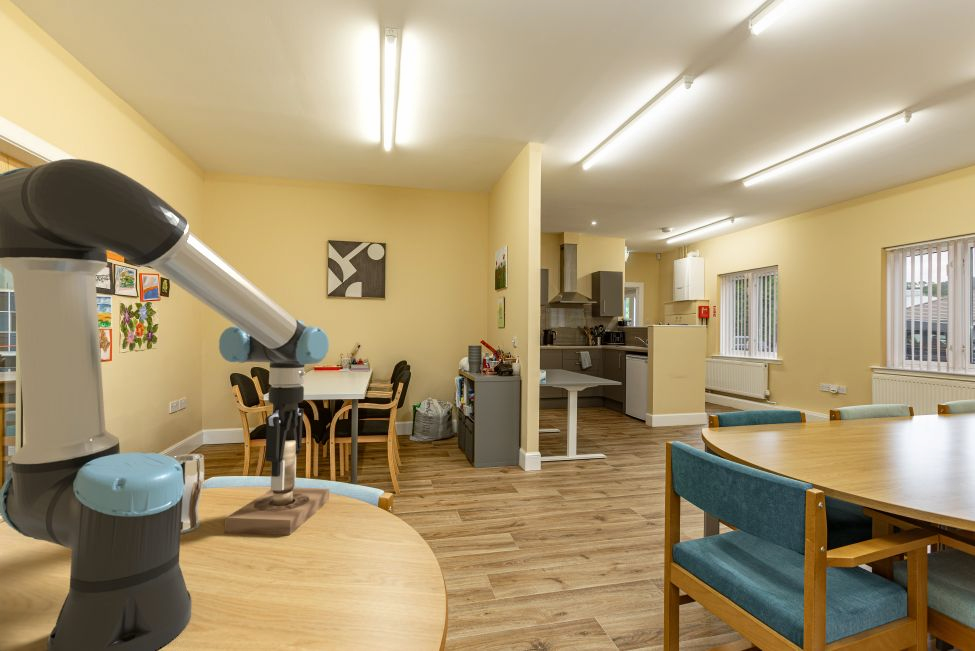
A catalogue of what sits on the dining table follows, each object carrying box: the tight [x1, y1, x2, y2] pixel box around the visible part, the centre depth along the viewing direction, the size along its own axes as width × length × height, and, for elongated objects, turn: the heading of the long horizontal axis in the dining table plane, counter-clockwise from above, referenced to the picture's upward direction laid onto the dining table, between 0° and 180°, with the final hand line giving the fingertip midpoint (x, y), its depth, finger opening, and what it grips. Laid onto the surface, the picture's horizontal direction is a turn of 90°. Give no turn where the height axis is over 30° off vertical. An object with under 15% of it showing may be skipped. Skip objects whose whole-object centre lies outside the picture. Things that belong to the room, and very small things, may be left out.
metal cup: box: [171, 453, 205, 535], centre depth 94 cm, size 7×7×15 cm
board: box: [224, 487, 330, 536], centre depth 102 cm, size 20×14×3 cm
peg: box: [273, 440, 297, 506], centre depth 102 cm, size 5×5×14 cm
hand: (283, 485), depth 102 cm, fingers closed on peg, 5 cm apart
